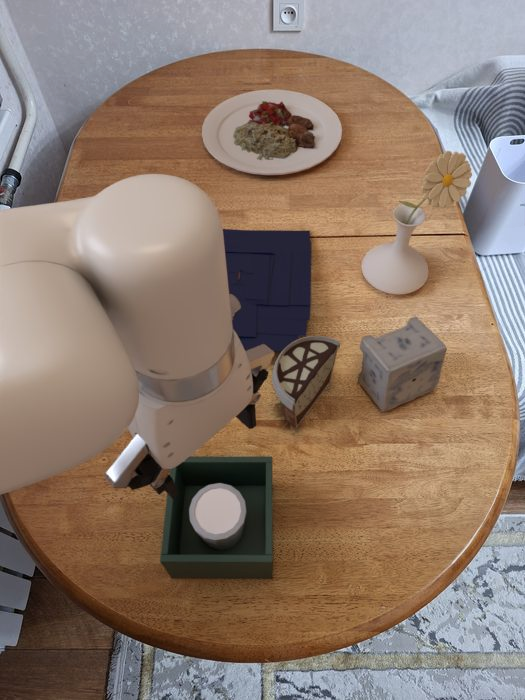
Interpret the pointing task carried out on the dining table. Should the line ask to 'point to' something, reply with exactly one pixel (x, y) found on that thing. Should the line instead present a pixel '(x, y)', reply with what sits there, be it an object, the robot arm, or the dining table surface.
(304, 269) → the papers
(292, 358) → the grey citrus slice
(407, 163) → the dining table surface
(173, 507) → the open square box
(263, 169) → the plated food
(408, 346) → the incense holder
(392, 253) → the flower in vase
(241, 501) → the light grey rounded piece
